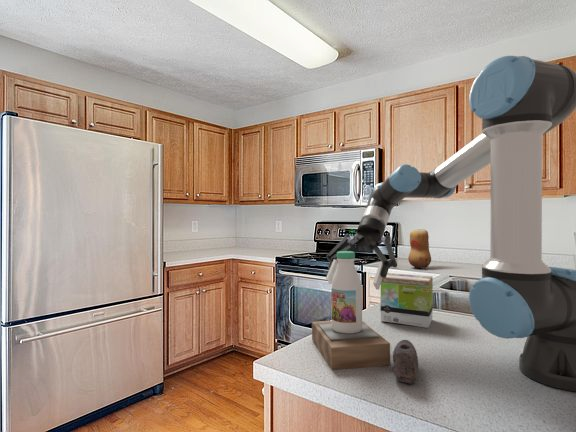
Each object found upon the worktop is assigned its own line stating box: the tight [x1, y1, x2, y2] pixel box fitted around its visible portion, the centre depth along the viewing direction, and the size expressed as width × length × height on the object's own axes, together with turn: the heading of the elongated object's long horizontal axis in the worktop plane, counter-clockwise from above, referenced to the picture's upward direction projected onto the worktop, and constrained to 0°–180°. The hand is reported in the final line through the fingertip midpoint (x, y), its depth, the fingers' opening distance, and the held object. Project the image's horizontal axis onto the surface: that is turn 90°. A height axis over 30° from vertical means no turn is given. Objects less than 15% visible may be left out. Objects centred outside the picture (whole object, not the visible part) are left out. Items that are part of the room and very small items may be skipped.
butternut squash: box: [408, 228, 432, 269], centre depth 227 cm, size 14×13×25 cm
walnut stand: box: [311, 320, 391, 371], centre depth 92 cm, size 20×14×5 cm
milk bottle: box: [330, 251, 363, 334], centre depth 92 cm, size 8×8×20 cm
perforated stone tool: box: [392, 339, 419, 385], centre depth 79 cm, size 15×5×7 cm, turn 161°
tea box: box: [379, 272, 434, 329], centre depth 117 cm, size 15×10×15 cm
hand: (351, 283), depth 95 cm, fingers open, 13 cm apart
